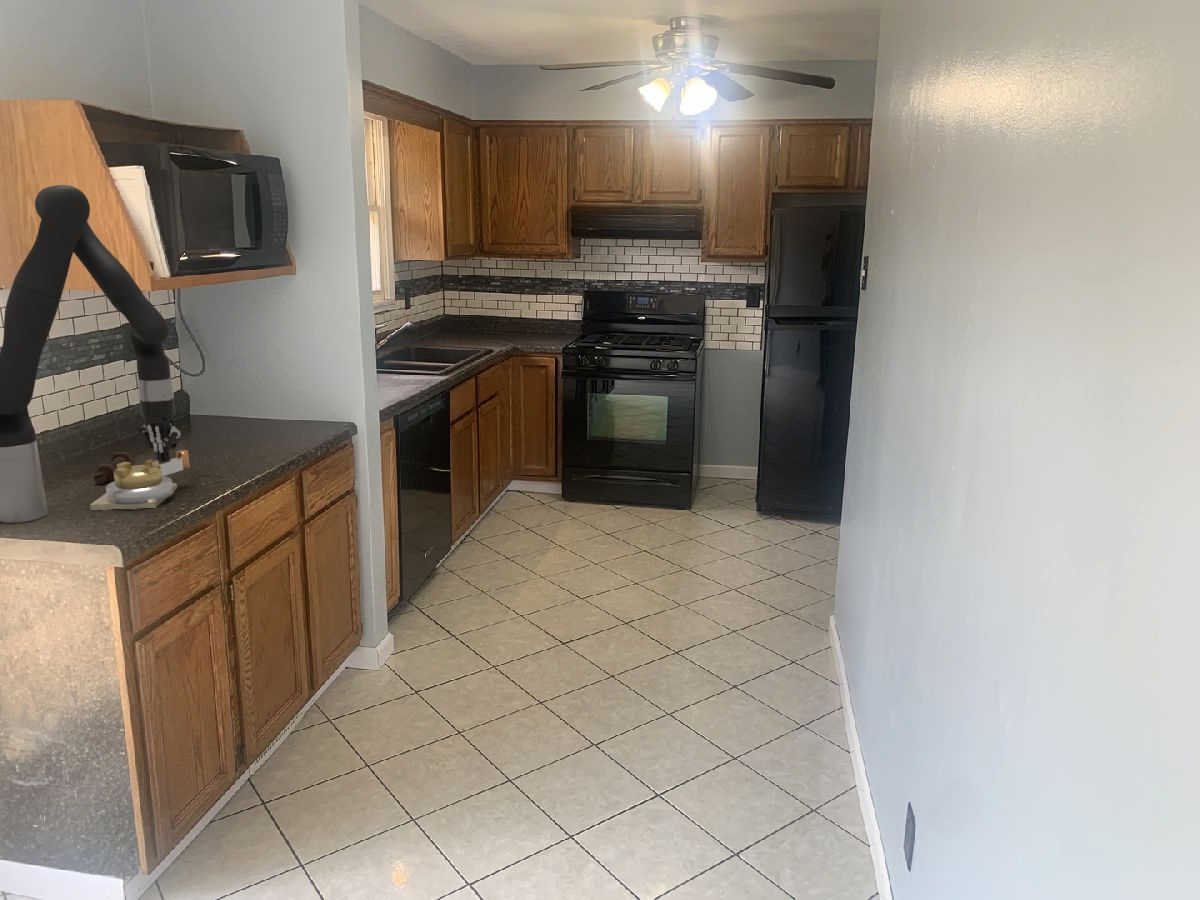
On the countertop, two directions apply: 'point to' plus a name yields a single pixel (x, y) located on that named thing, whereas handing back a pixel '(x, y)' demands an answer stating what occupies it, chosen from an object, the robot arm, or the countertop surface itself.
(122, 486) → the yellow disc with lever
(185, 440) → the countertop surface
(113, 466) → the bolt
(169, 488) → the cap housing
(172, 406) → the robot arm
